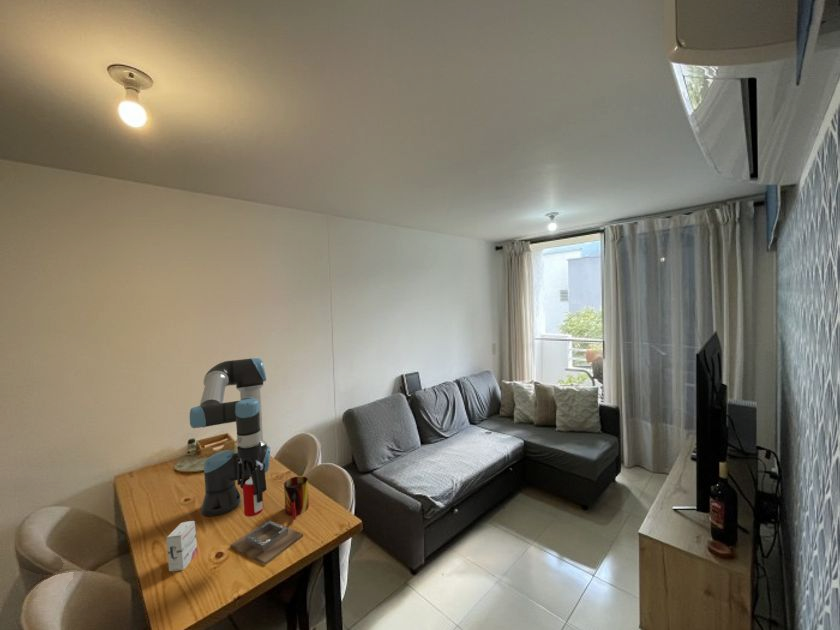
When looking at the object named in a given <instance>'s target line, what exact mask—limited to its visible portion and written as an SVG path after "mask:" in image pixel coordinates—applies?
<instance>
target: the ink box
mask: <svg viewBox="0 0 840 630" xmlns="http://www.w3.org/2000/svg"><path fill="white" fill-rule="evenodd" d="M195 523H196V521H195V520H188V521H183V522H181V523H179V524H178V525H177V526H176V527H175V528H174V529H173V530H172V532H170V533H169V535H168V536H166V538H165V541H166V542H165V543H166V550H167V551H166V552H167V562H168V571H169V572H177V571H184V570H185V569H186V567H187V566H188V565H189V564H190V563H191V562H192V560H193V559H194V557H195V556H196V555H197V554H198V545H197V544H198V543H197V533H196V531H197V530H196V524H195Z"/></svg>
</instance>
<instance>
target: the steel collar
mask: <svg viewBox="0 0 840 630" xmlns="http://www.w3.org/2000/svg"><path fill="white" fill-rule="evenodd" d="M272 521H273V520H271V521H269V522H267V523H266V524H264V525H263V526H261V527H260V528H258V529H257V530H255V531H253V532H252V533H250V534H249V535H247V536H246V537H245V540H246V544H248V545H250V546H252V547H254V548H256V549H258V550H260V551H262V552H265V551H266V550H268V549H269V548H271V547H272V546H273V545H275V544H276V543H277V542H279V541H280V540H282V539H283V538H284V537H286V536H287V535H288V528H289V527H288V526H285V525H283V524H281V525H279V524H280V523H278V522H276V521H273V522H272ZM275 522H276V523H275ZM277 523H278V524H277ZM282 525H283V526H282ZM284 526H285V527H284ZM287 527H288V528H287ZM268 530H272V531H274V532H276V534H274V535H273V536H271V537H270V539H268V540H267V541H265V542H262V541H260V540H258V539H257V538H258V537H260V536H261V535H262V534H264V533H265V532H267V531H268Z"/></svg>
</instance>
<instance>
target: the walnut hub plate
mask: <svg viewBox="0 0 840 630" xmlns="http://www.w3.org/2000/svg"><path fill="white" fill-rule="evenodd" d="M269 521H272V522H275V523H277V524H279V525H282V526H284V527H287V528H288V535H287V536H286V537H284V538H283V539H282V540H280V541H279V542H277V543H276V544H275V545H273V546H272V547H271V548H269V549H268V550H266V551H265V552H262V551H260V550H258V549H256V548H254V547H252V546H250V545H248V544H246V540H245V537H246V536H247V535H249V534H250V533H252V532H253V531H255V530H257V529H258V528H260V527H261V526H263V525H264V524H266V523H267V522H269ZM274 534H276V532H274V531H272V530H268V531H267V532H265V533H264V534H262V535H261V536H260V537H258V538H257V539H258V540H260V541H262V542H265V541H267V540H268V539H270V537H271V536H273V535H274ZM303 537H304V533H303V532H300V531H297V530H295V529H293V528H290V527H288V526H285V525H283V524H280V523H278V522H276V521H273V520H270V519H267V520H265V522H263V523H262V524H260V525H258V526H257V527H255V528H254V529H252V530H250V531H249V532H247V533H246V534H244V535H242V536H241V537H239V538H238V539H237V540H235V541H233V542H232V543H230V548H232V549H234V550H235V551H238V552H240V553H242V554H243V555H245V556H247V557H249V558H251V559H253V560H254V561H257V562H258V563H261V564H262V565H264V566H267V565H268V564H269V563H271V562H272V561H273V560H275V558H277V557H279V556H280V555H281V554H283V552H285V551H286V550H287V549H289V548H290V547H291V546H293V545H294V544H296V542H298V541H299V540H300V539H302V538H303Z"/></svg>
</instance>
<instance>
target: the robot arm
mask: <svg viewBox="0 0 840 630" xmlns="http://www.w3.org/2000/svg"><path fill="white" fill-rule="evenodd" d="M266 381H267V377H266V371H265V365H264V361H263V359H261V358H260V357H258V358H255V357H254V358H253V357H250V358H243V359H242V358H241V359H234V360H225V361H221V362H219V363H217V364H216V365H214V366H213V367H212V368H210V369H209V370H208V371H207V372H206V374H205V375H204V378H203V386H204V387H203V392H202V395H201V400H200V402H199V403H200V404H199V405H197V406H193V407H192V408H191V409H190V410H189V425H190V428H192V429H200V428H205V427H206V428H207V427H212V426H216V425H217V426H219V425H224V424H230V423H235V425H236V442H237V444H236V445H237V452H234V450H233V449H226V450H222V451H217V452H216V453H214V454H212V455H210V456H209V457H207V458H206V459H205V460H204V463H203V467H204V468H203V473H204V491H205V494H204V497H203V501H202V504H201V514H202V515H203V516H206V517H215V516H221V515H224V514H227V513H229V512H231V511H233V510H234V509H236V508H237V507H238V506H239V505H241V502H242V507H243V508H244V500H243V485H244V483H245V482H246V481H247V480H248V479H251V478H252V482H253V486H254V490H255V493H254V494H253V495H254V512H255V513H256V512H258V511H260V510H261V509H263V510H264V496H262V492H263V493H264V492H266V491H267V482H266V473H267V472H269V469H270V464H271V463H270V462H271V460H270V459H271V446H270V445H268V444H267V442H266V441H265V440H264V437H263V436H264V435H263V434H264V433H263V419H262V418H263V417H262V399H261V398H262V396H261V389H262V388H263V386H264V382H266ZM228 386H235V387H236V389H237V390H238V391H239V395H240V400H236V401H228V402H224V397H225V390H226V387H228ZM236 482H237V485H236ZM239 485H240V488H241V494H240V492H239V490H238V488H237V486H239ZM241 495H242V498H241ZM241 500H242V501H241ZM262 500H263V501H262Z"/></svg>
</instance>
